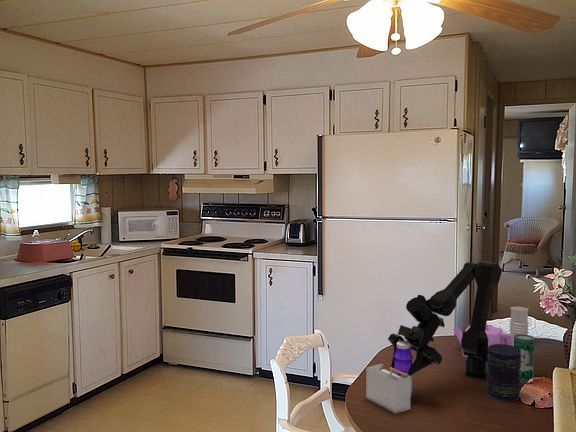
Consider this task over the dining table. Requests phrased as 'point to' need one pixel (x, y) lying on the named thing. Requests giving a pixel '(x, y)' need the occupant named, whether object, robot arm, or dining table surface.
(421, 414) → the dining table surface
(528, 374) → the can
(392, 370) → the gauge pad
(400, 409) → the grey open box
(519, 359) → the storage jar
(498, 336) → the teakettle
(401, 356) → the bottle
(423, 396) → the dining table surface
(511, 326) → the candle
